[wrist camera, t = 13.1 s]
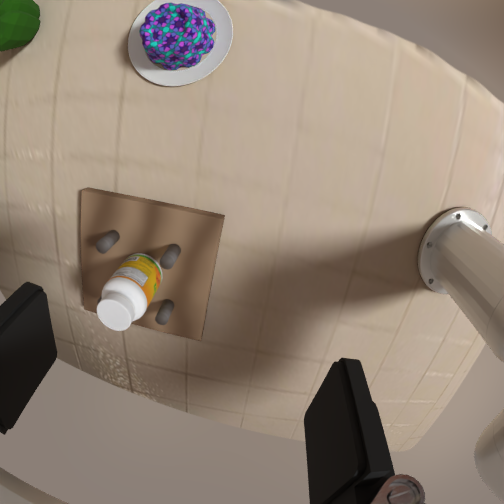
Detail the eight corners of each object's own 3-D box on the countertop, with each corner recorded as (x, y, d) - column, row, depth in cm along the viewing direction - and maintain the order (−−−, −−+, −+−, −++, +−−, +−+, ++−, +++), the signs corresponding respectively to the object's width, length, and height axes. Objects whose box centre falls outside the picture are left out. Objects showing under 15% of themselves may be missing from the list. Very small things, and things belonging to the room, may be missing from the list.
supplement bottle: (153, 296, 40) (128, 344, 31) (118, 276, 39) (85, 319, 30) (170, 266, 38) (144, 311, 29) (132, 244, 37) (97, 284, 28)
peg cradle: (224, 215, 37) (218, 230, 32) (202, 334, 44) (196, 357, 40) (87, 187, 36) (66, 198, 31) (88, 303, 43) (73, 322, 39)
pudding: (206, 101, 32) (196, 99, 27) (115, 71, 30) (93, 66, 25) (251, 9, 27) (249, -7, 22) (157, -16, 25) (141, -32, 21)
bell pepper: (59, 1, 25) (13, -15, 16) (35, 56, 28) (-15, 52, 19) (22, -1, 24) (-23, -12, 15) (1, 49, 27) (-46, 48, 18)
